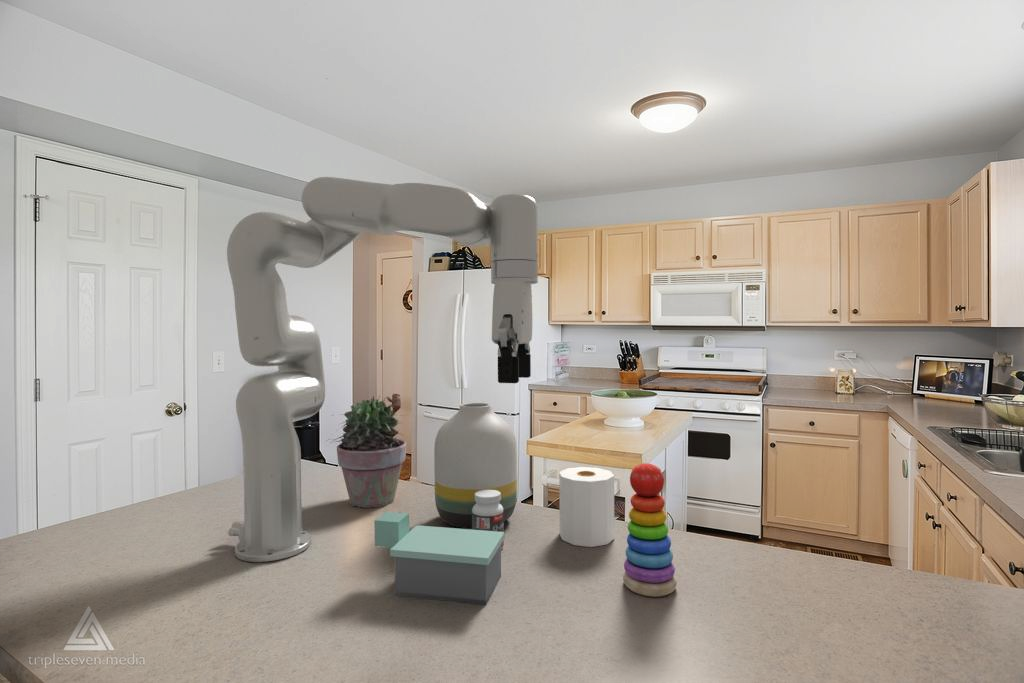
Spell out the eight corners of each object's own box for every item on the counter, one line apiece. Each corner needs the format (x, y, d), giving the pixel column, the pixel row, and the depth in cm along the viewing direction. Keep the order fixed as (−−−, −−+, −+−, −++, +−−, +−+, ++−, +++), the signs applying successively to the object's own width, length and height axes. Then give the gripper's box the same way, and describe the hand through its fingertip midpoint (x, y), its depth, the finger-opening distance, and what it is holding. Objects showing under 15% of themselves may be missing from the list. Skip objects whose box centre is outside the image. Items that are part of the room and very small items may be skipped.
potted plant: (327, 493, 130) (326, 390, 129) (409, 487, 135) (408, 388, 134) (319, 518, 112) (317, 400, 112) (413, 510, 117) (412, 396, 117)
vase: (534, 521, 110) (533, 405, 109) (466, 543, 99) (465, 413, 98) (484, 502, 123) (483, 397, 122) (419, 519, 112) (418, 404, 111)
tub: (395, 595, 80) (394, 555, 79) (418, 568, 88) (418, 532, 88) (486, 604, 77) (485, 563, 76) (501, 576, 85) (500, 539, 85)
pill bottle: (499, 555, 93) (499, 499, 93) (468, 553, 94) (467, 497, 94) (506, 542, 99) (506, 489, 99) (476, 540, 100) (476, 487, 100)
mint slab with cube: (365, 553, 80) (365, 527, 80) (394, 529, 90) (394, 505, 90) (488, 565, 76) (488, 537, 76) (504, 538, 86) (504, 513, 85)
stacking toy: (677, 578, 84) (677, 460, 84) (675, 603, 77) (675, 473, 76) (626, 571, 87) (626, 456, 86) (619, 594, 79) (619, 468, 79)
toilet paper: (608, 550, 95) (608, 483, 95) (552, 542, 99) (552, 477, 99) (618, 530, 105) (618, 469, 104) (567, 523, 108) (567, 464, 108)
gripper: (504, 279, 96) (504, 375, 96) (476, 269, 79) (477, 385, 79) (545, 278, 94) (546, 375, 94) (527, 267, 77) (527, 385, 77)
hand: (515, 380), depth 87 cm, fingers open, 9 cm apart
